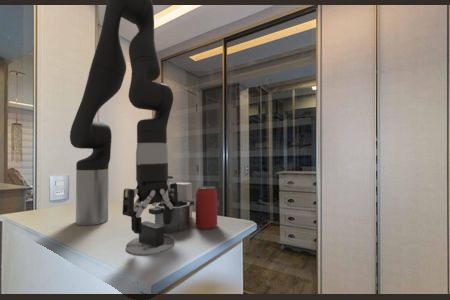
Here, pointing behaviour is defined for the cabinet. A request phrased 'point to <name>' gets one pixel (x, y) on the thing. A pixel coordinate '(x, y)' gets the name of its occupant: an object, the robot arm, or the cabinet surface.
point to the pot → (174, 216)
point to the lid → (150, 240)
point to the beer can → (206, 207)
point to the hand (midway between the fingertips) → (153, 227)
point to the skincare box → (185, 193)
